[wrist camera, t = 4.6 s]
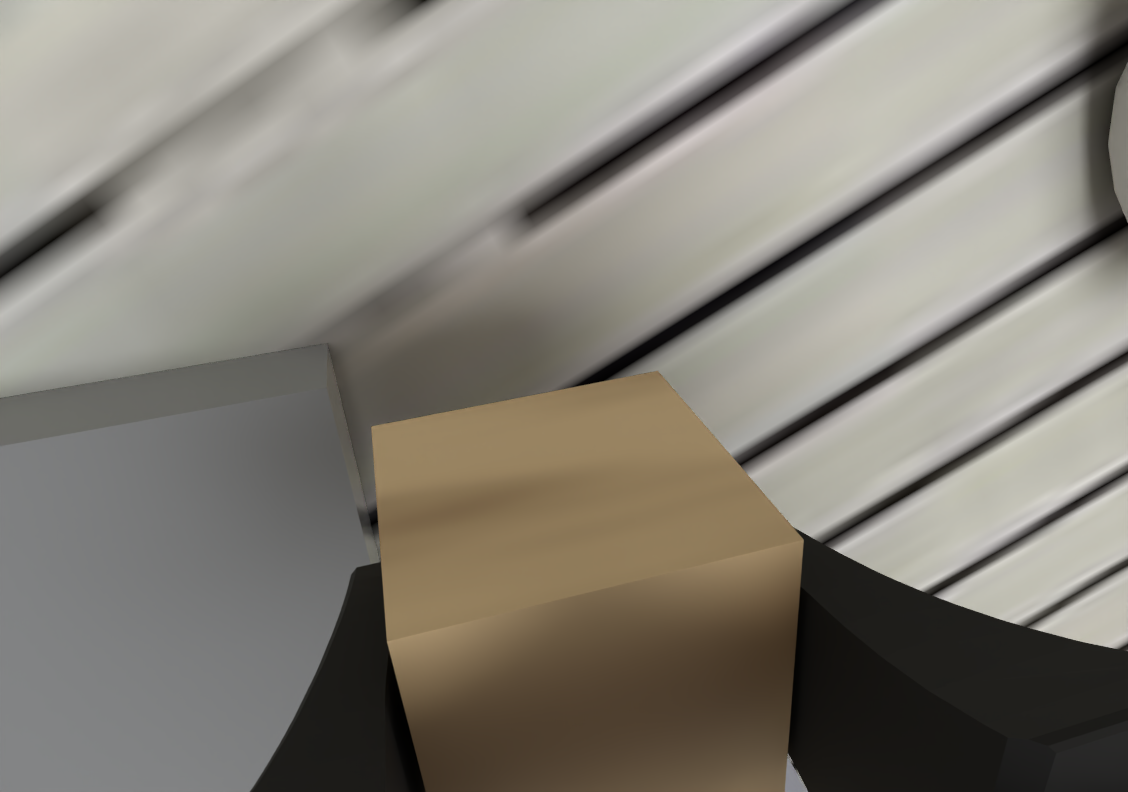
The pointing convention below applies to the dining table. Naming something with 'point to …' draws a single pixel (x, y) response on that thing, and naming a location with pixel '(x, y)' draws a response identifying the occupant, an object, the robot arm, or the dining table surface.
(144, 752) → the slate block
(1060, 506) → the dining table surface
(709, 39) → the dining table surface
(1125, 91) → the donut
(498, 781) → the oak cube
